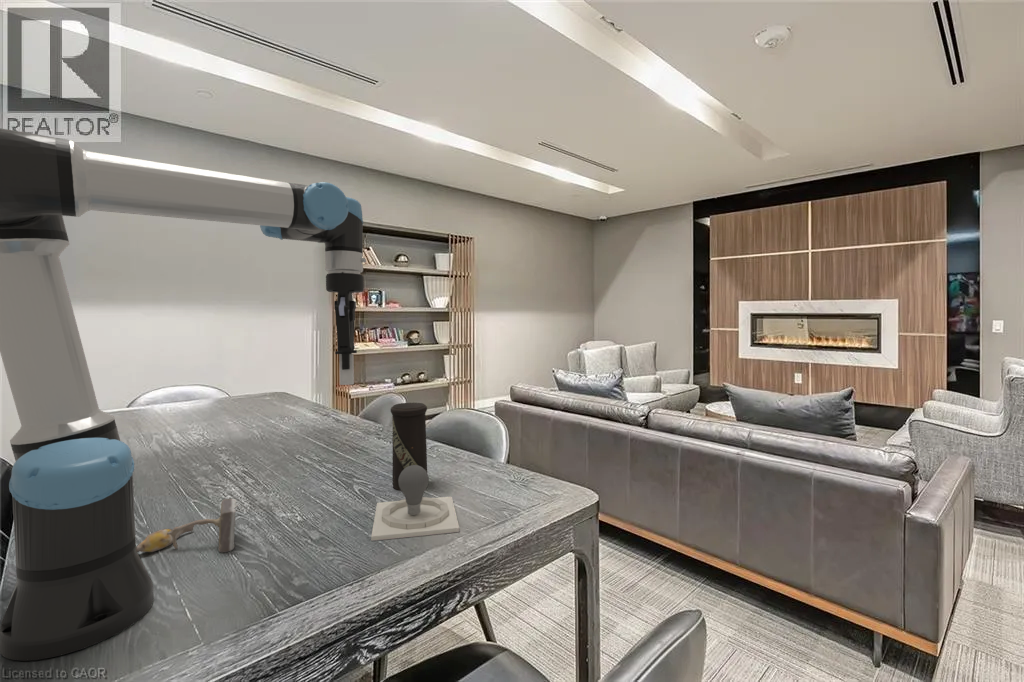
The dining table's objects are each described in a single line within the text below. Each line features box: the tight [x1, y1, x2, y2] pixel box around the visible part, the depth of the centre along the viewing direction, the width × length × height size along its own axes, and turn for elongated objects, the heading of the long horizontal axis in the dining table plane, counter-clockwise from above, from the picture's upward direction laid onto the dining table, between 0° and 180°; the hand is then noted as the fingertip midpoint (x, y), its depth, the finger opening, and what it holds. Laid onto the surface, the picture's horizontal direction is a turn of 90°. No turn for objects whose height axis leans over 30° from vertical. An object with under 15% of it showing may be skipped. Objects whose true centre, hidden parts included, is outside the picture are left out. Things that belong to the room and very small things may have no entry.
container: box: [390, 402, 428, 491], centre depth 113 cm, size 9×9×20 cm
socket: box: [370, 496, 460, 542], centre depth 94 cm, size 16×16×2 cm
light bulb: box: [398, 465, 430, 516], centre depth 94 cm, size 6×6×10 cm
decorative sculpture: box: [136, 498, 239, 553], centre depth 85 cm, size 16×10×7 cm, turn 97°
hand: (346, 384), depth 100 cm, fingers closed
